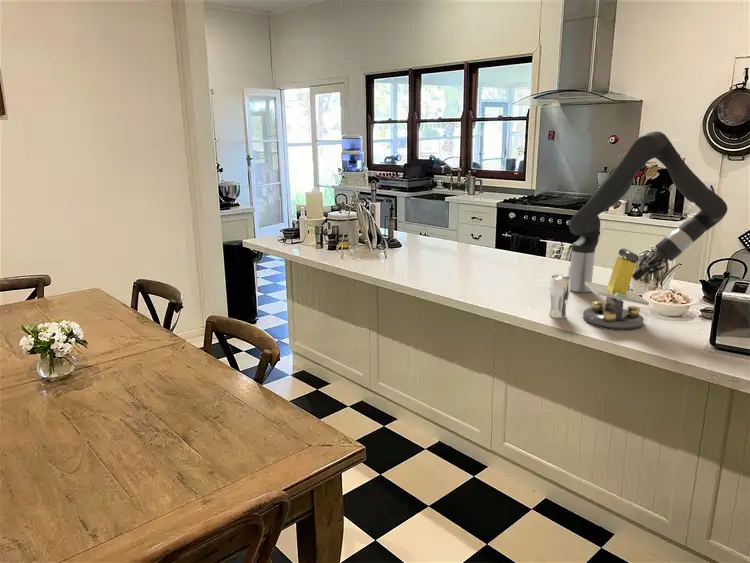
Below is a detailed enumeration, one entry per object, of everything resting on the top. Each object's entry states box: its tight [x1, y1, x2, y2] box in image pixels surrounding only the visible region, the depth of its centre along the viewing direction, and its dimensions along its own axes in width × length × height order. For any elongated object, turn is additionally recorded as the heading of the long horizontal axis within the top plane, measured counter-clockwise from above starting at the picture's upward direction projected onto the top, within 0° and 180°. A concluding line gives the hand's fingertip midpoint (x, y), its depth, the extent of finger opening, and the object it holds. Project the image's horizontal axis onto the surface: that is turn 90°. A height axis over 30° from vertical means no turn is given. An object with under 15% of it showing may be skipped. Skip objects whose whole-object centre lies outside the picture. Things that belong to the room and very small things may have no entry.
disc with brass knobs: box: [582, 297, 645, 331], centre depth 197 cm, size 20×20×10 cm
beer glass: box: [548, 274, 571, 320], centre depth 202 cm, size 7×7×15 cm
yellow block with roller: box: [585, 247, 650, 306], centre depth 194 cm, size 14×18×16 cm
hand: (633, 278), depth 194 cm, fingers closed
